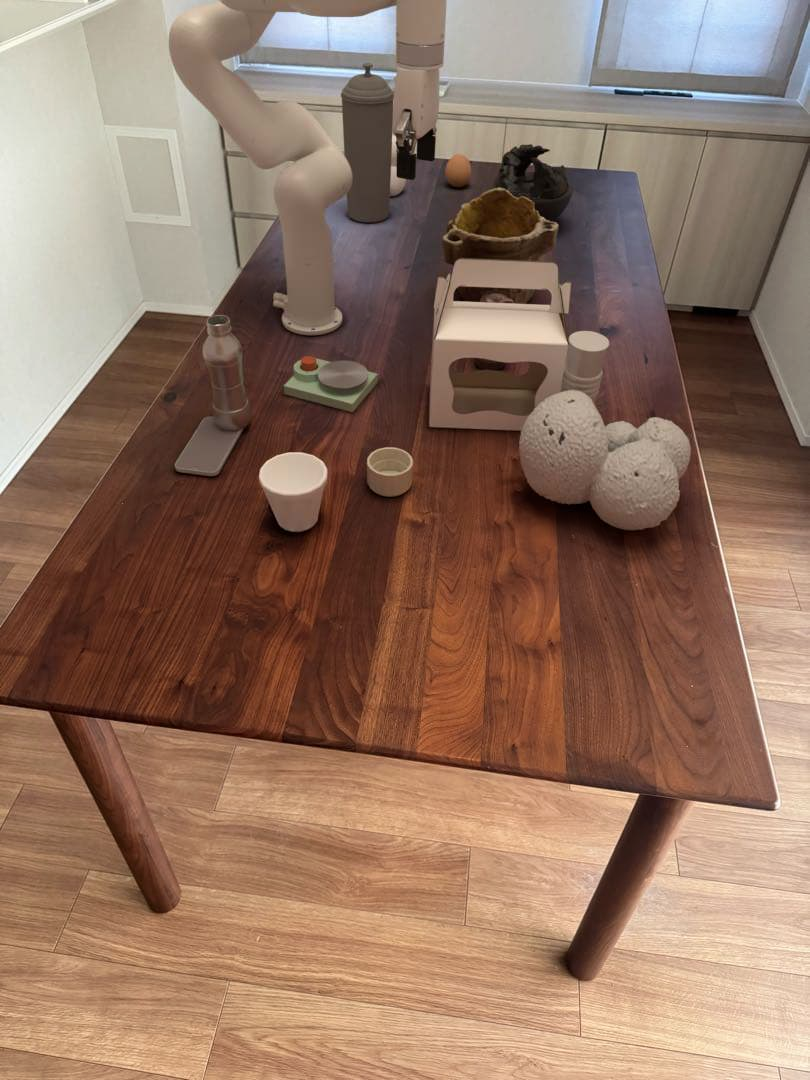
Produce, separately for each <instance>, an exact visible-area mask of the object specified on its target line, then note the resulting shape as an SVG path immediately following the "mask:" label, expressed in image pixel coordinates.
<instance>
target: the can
mask: <svg viewBox="0 0 810 1080" xmlns="http://www.w3.org/2000/svg"><path fill="white" fill-rule="evenodd" d="M480 302H486V303H511V304H514V302H513V300H512V297H511V296H510V295H509V294H508V293H505V292H502V291H489V292H486V293H485V294H484V295H483V297H482V298H481V300H480ZM506 363H507V362H499V361H493V360H488V359H483V358H474V364H475V365H476V366H477V367H478V368H480V370H497V371H500V370H501V369H502V368H504V366H505V365H506Z"/></svg>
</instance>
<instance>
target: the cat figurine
mask: <svg viewBox="0 0 810 1080" xmlns="http://www.w3.org/2000/svg"><path fill="white" fill-rule="evenodd" d="M396 147H397V146H396V136H395V135H394V134H392V156H391V181H390V197H396V196H398V195H399V194H401V193H402V191H403V190H404V188H405V187H406V183H407V179H402V178H398V177H397V176H396V171H397V153H396Z"/></svg>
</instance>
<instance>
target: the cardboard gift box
mask: <svg viewBox="0 0 810 1080" xmlns="http://www.w3.org/2000/svg"><path fill="white" fill-rule="evenodd" d="M459 286H461V287H465V286H468V287H493V288H518V289H535V290H541V291H546V290H548V291H549V293H550V295H551V298H550V304H537V303H536V304H535V303H533V304H532V303H526V304H511V303H486V302H466V301H459V300H454V294H455V291H456V289H457V287H459ZM571 287H572V281H564V282H563V283H561V280H560V277H559V268H558V264H557V263H556V262H555V261H544V260H543V261H542V260H539V261H522V260H497V259H472V258H459V259H457V260H456V261H455V263H454V265H453V268H452V272H451V273H448V274H447V277H446V278H445V277H444V276H440V275H439V276H437V282H436V288H435V294H434V302H433V323H432V324H433V325H432V326H433V327H432V343H431V344H432V346H431V362H430V378H429V379H430V381H429V410H428V411H429V417H428V419H429V420H428V424H429V425H428V427H430V428H443V429H445V428H446V429H464V430H465V429H468V430H469V429H470V430H490V431H491V430H492V431H515V432H517V431H518V432H521V431H522V428H523V426H524V423H525V421H526V420H527V418H528V416H529V415H530V414H531V413H532V412H533V410H534V409H535V408H536V407H537V406H538V405H539V404H540V403H541V402H543V401H544V400H545V398H548V397H549V396H552V395H554V394H557V393H560V389H561V384H562V378H563V373H564V368H565V363H566V359H567V354H568V349H569V336H568V329H567V327H568V326H567V321H566V314H569V309H570V299H571V289H572V288H571ZM467 358H468V359H469V358H473V359H475V358H483V359H488V360H493V361H499V362H506V363H511V364H512V363H523V362H525V363H526V362H527V363H529V366H528V370H527V372H525V373H523V374H520V375H519V374H517V375H516V374H512V373H508V372H506V371H502V370H483V369H480V370H474V371H467V372H461V371H457V370H455V369H454V368H453V362H455V361H457V360H461V359H467Z"/></svg>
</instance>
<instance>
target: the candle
mask: <svg viewBox="0 0 810 1080" xmlns="http://www.w3.org/2000/svg"><path fill="white" fill-rule="evenodd" d="M568 341H569V347H568V352H567V357H566V362H565V368H564V373H563V378H562V384H561V389H560V392H564V391H568V390H574V391H581V392H583V393H585V394H586V395H587V396H589V398H591V399H592V401H593V403H594V406H595V407H596V400H597V396H598V395H599V392H600V388H601V382H602V377H603V375H604V370H603V367H604V362H605V359H606V358H605V357H606V353H607V350H608V348H609V346H610V341H609V339H608V337H606V336H605V335H603V334H601V333H599V332H596V331H591V330H580V331H575V332H573V333H571V334H570V335H569V336H568Z"/></svg>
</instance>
